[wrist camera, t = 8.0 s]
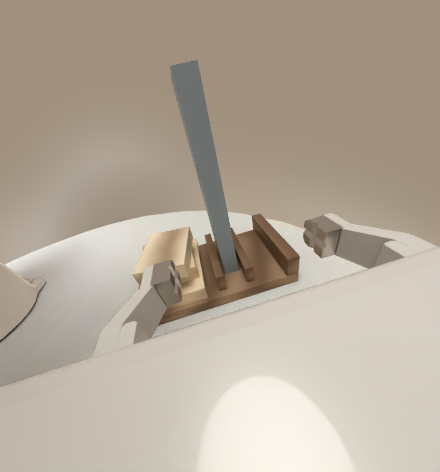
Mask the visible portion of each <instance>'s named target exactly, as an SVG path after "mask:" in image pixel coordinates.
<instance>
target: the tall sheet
mask: <svg viewBox="0 0 440 472" xmlns="http://www.w3.org/2000/svg"><path fill="white" fill-rule="evenodd" d="M170 68H171V79H172V84H173V87H174V91H175V94H176V98H177V102H178V106H179V109H180V113H181V116H182V120H183V124H184V127H185V132H186V135H187V139H188V142H189V146H190V150H191V153H192V157H193V161H194V164H195V168H196V172H197V176H198V179H199V182H200V187H201V190H202V194H203V198H204V201H205V205H206V208H207V213H208V216H209V220H210V224H211V227H212V231H213V235H214V238H215V242H216V246H217V249H218V253H219V256H220V259H221V262H222V265H223V268H224V271H225V274H228V273H231V272H234V271H238V270H239V268H238V263H237V258H236V253H235V248H234V243H233V238H232V233H231V228H230V223H229V218H228V213H227V208H226V203H225V198H224V192H223V188H222V182H221V177H220V173H219V167H218V163H217V157H216V152H215V147H214V142H213V137H212V132H211V127H210V122H209V117H208V112H207V107H206V101H205V97H204V91H203V86H202V81H201V76H200V71H199V66H198V61H197V60H195V61H190V62H186V63H181V64H177V65H173V66H170Z"/></svg>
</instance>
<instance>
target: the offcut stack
mask: <svg viewBox="0 0 440 472" xmlns="http://www.w3.org/2000/svg"><path fill="white" fill-rule="evenodd" d="M169 260H173V262H174V264H175V269H176V270H178V272H179V275H180V278H181V287H180V290H181V292H182V302H179V303H177V304H174V305H171V306H168V307H167V309H166V311H169V310H172V309H175V308H178V307H181V306H184V305H188V304H191V303H194V302H197V301H200V300H203V299H207V298H209V297H208V292H207V287H206V281H205V276H204V271H203V266H202V260H201V255H200V250H199V246H198V243H197V240H196V239H193V236H192V234H191V231H190V228H189V227H185V228H181V229H176V230H171V231H167V232H162V233H157V234H153V235H150V237H149V239H148V241H147V243H146V245H145V246H143V252H142V254H141V257H140V259H139V261H138V263H137V265H136V268H135V270H134V272H133V274H132V275H133V276H134V278H135V279H136V281H137V282H138V283H139V285H140V286H141V281H142V277H143V272H144V268H145V267H147V266H151V265H155V264H158V263H162V262H165V261H169ZM140 286H139V288H140Z"/></svg>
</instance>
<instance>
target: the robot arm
mask: <svg viewBox="0 0 440 472" xmlns="http://www.w3.org/2000/svg"><path fill="white" fill-rule="evenodd" d="M304 227H305V228H306V230H305V231H304V233H303V238H304V241H305V243H306V244H307V245H308V246H309V247H311V248H314V252H315V253H316V254H317V255H319V256H320V257H321V258H325V257H328V256H332V255H335V254H336V256H339V257H341V258H344V259H346V260H349V261H351V262H353V263H356V264H358V265H361V266H363V267H366V268H368V269H366V270H363V271H360V272H357V273H354V274H351V275H347V276H344V277H341V278H338V279H335V280H332V281H329V282H326V283H322V284H319V285H316V286H313V287H310V288H307V289H304V290H301V291H297V292H294V293H291V294H288V295H285V296H282V297H279V298H276V299H272V300H269V301H266V302H263V303H260V304H257V305H254V306H251V307H248V308H244V309H241V310H238V311H235V312H232V313H229V314H226V315H223V316H219V317H216V318H213V319H210V320H207V321H204V322H201V323H198V324H194V325H191V326H188V327H185V328H182V329H179V330H176V331H173V332H170V333H166V334H163V335H160V336H157V337H154V338H151V337H152V335H153V333H154V331H155V330H156V328H157V326H158V324H159V322H160V320H161V318H162V316H163V314H164V313H165V311H166V309H167V307H168V306H171V305H174V304H177V303H179V302H182V292H181V290H180V287H181V278H180V275H179V272H178V270H176V269H175V264H174V262H173V260H169V261H165V262H162V263H158V264H155V265H151V266H147V267H145V268H144V272H143V277H142V281H141V286H140V289H139V290H137V291H136V292H135V293H134V294H133V295H132V296H131V298H130V299H129V300H128V301H127V302H126V303H125V304H124V306H123V307H122V308H121V309H120V310H119V311H118V312H117V313H116V315H115V316H114V317H113V318H112V319H111V320H110V321H109V323H108V324H107V325H106V326H105V327H104V328H103V329H102V331H101V333H100V336H99V339H98V342H97V345H96V347H95V350H94V353H93V356H92V358H89V359H85V360H82V361H79V362H76V363H73V364H70V365H67V366H64V367H60V368H57V369H54V370H51V371H48V372H45V373H42V374H39V375H36V376H32V377H29V378H26V379H23V380H20V381H17V382H13V383H10V384H7V385H3V386H0V472H440V246H438V247H437V246H435V245H433V244H430V243H428V242H426V241H424V240H422V239H420V238H418V237H416V236H414V235H411V234H407V233H401V232H395V231H390V230H384V229H379V228H372V227H367V226H361V225H356V224H355V225H352V224H350V223H348V222H347V221H345V220H343V219H341V218H339V217H338V216H336V215H334V214H333V213H329V214H325V215H322V216H320V217H316V218H313V219H309V220H306V221H305V223H304ZM44 284H45V281H44V280H43V279H41V278H33V279H24V278H22V277H21V276H19V275H18V274H17V273H15V272H14V271H12V270H11V269H10V268H8V267H7V266H5V265H4V264H3V263H1V262H0V340H1V339H2V338H4V337H5V336H6V335H7V334H8V333H9V332H10V331H11V330H13V329H14V328H15V327H16V326H17V325H18V324H19V323H20V322H21V321H22V320H23V318H24V317H25V316H26V315H27V314H28V312H29V311H30V310H31V308H32V307H33V305H34V303H35V301H36V298H37V294H38V292H39V291H40V289H41V288H42V287H43V285H44Z"/></svg>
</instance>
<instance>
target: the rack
mask: <svg viewBox="0 0 440 472" xmlns="http://www.w3.org/2000/svg"><path fill="white" fill-rule="evenodd" d="M252 222H253V230H251V231H248V232H244V233H241V234H238V235H235V233H234V231H233V229H232V228H231V233H232V238H233V243H234V248H235V253H236V258H237V263H238V268H239V270H238V271H234V272H231V273H228V274H225V271H224V268H223V265H222V262H221V259H220V256H219V253H218V249H217V246H216V242H215V241H214V242H213V241H212V238H211V234H207V235H205V239H206V243H207V244H204V245H200V246H199V250H200V255H201V260H202V266H203V271H204V276H205V281H206V287H207V292H208V297H209V298H207V299H203V300H200V301H197V302H194V303H191V304H188V305H184V306H181V307H178V308H175V309H172V310H169V311H165V313H164V314H163V316H162V318H161V320H160V322H159V324H158V325H160V324H163V323H166V322H169V321H173V320H176V319H179V318H182V317H185V316H188V315H191V314H194V313H198V312H201V311H204V310H207V309H210V308H213V307H216V306H220V305H223V304H226V303H229V302H232V301H235V300H238V299H241V298H245V297H248V296H251V295H254V294H257V293H260V292H263V291H266V290H270V289H273V288H276V287H279V286H282V285H285V284H288V283H292V282H295V281H298V270H299V258H300V256H299V255H298V254H297V253H296V251H295V250H294V249H293V248H292V247H291V246H290V245H289V244H288V243H287V242H286V241H285V240H284V239H283V238H282V237H281V236H280V234H279V233H278V232H277V231H276V230H275V229H274V228H273V227H272V226H271V225H270V224H269V223H268V222H267V221H266V220H265V218H264V217H263V216H262V215H261V214H257V215H253V216H252ZM139 286H140V285H139ZM139 289H140V288H139ZM139 289H138V290H139Z"/></svg>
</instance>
